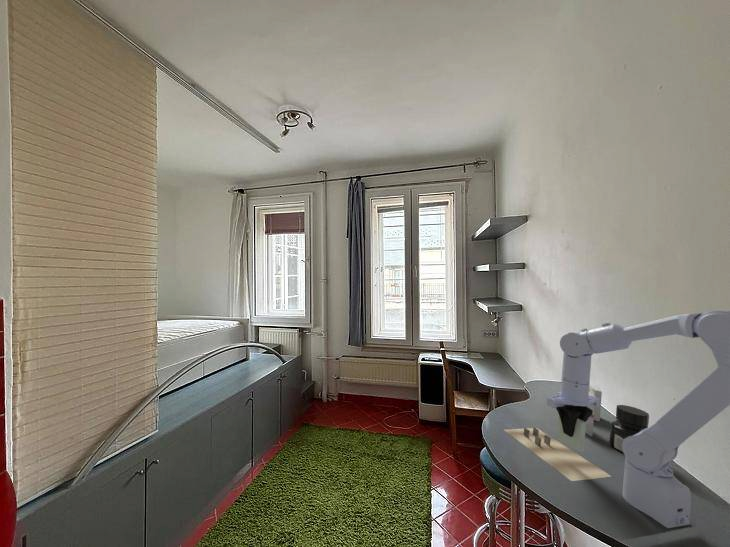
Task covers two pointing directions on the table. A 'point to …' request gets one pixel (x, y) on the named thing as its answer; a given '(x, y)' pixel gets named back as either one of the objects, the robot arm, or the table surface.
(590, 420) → the ink cartridge box
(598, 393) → the small box
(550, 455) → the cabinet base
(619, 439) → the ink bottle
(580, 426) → the pale green flat block
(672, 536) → the table surface
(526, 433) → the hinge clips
